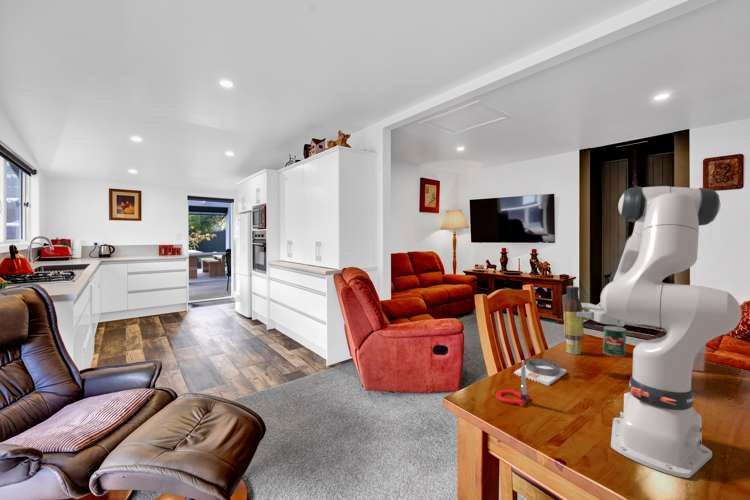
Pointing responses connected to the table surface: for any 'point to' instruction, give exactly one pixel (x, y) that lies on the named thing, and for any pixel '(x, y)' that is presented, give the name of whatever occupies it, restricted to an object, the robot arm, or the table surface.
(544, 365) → the socket board
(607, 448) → the table surface
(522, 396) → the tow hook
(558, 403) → the table surface
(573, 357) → the table surface
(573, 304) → the sauce bottle
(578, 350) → the supplement bottle
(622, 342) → the canned tomato
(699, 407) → the table surface
